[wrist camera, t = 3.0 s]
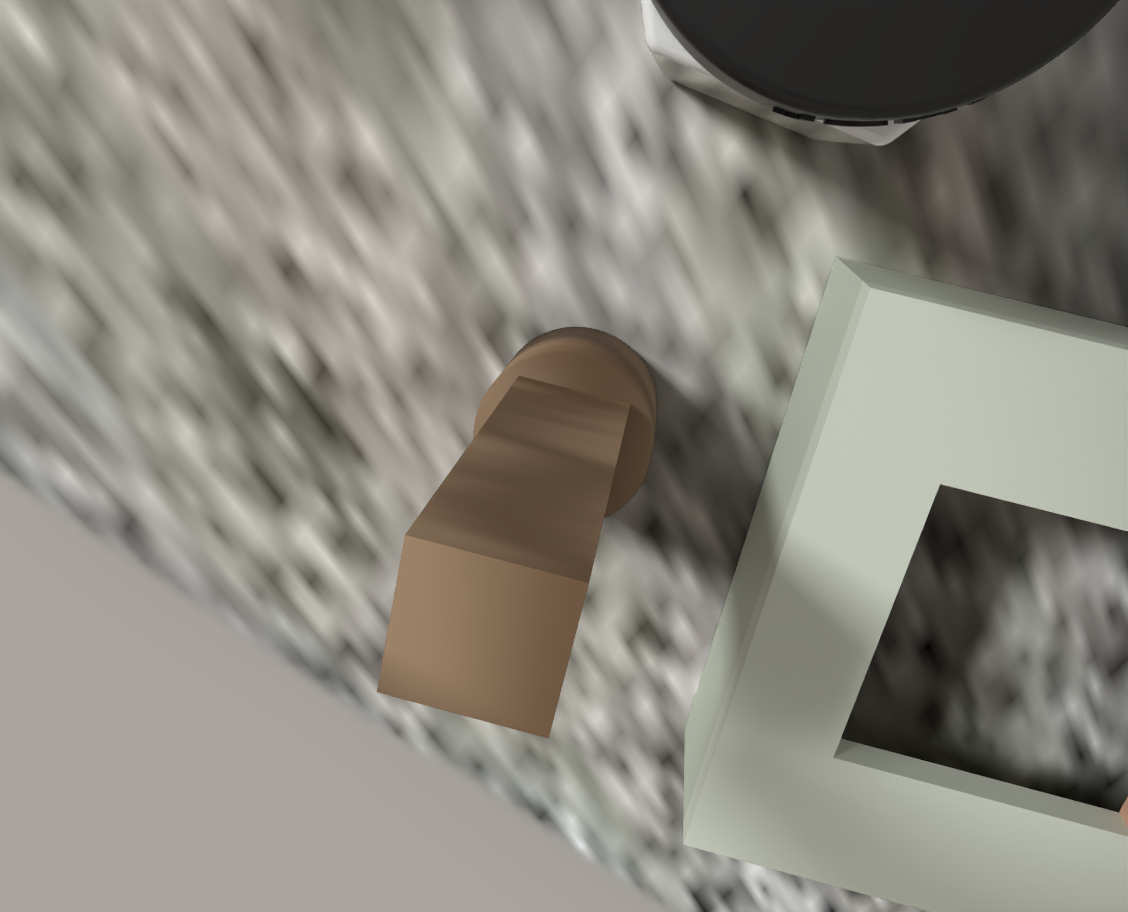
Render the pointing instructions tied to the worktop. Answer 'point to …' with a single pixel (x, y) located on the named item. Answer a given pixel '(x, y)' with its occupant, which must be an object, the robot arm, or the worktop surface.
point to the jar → (859, 56)
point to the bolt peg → (520, 532)
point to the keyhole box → (870, 585)
